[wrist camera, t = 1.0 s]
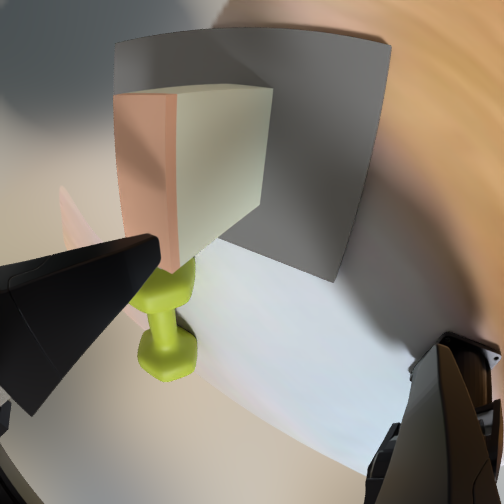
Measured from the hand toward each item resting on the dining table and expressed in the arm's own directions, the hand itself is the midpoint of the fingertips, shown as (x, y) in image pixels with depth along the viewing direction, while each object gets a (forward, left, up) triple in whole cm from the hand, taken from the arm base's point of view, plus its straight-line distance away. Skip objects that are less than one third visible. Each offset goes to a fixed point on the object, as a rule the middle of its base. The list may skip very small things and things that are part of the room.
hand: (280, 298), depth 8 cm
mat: (+11, -1, -12) cm, 16 cm away
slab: (+8, -1, -11) cm, 13 cm away
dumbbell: (+15, +18, -12) cm, 27 cm away
